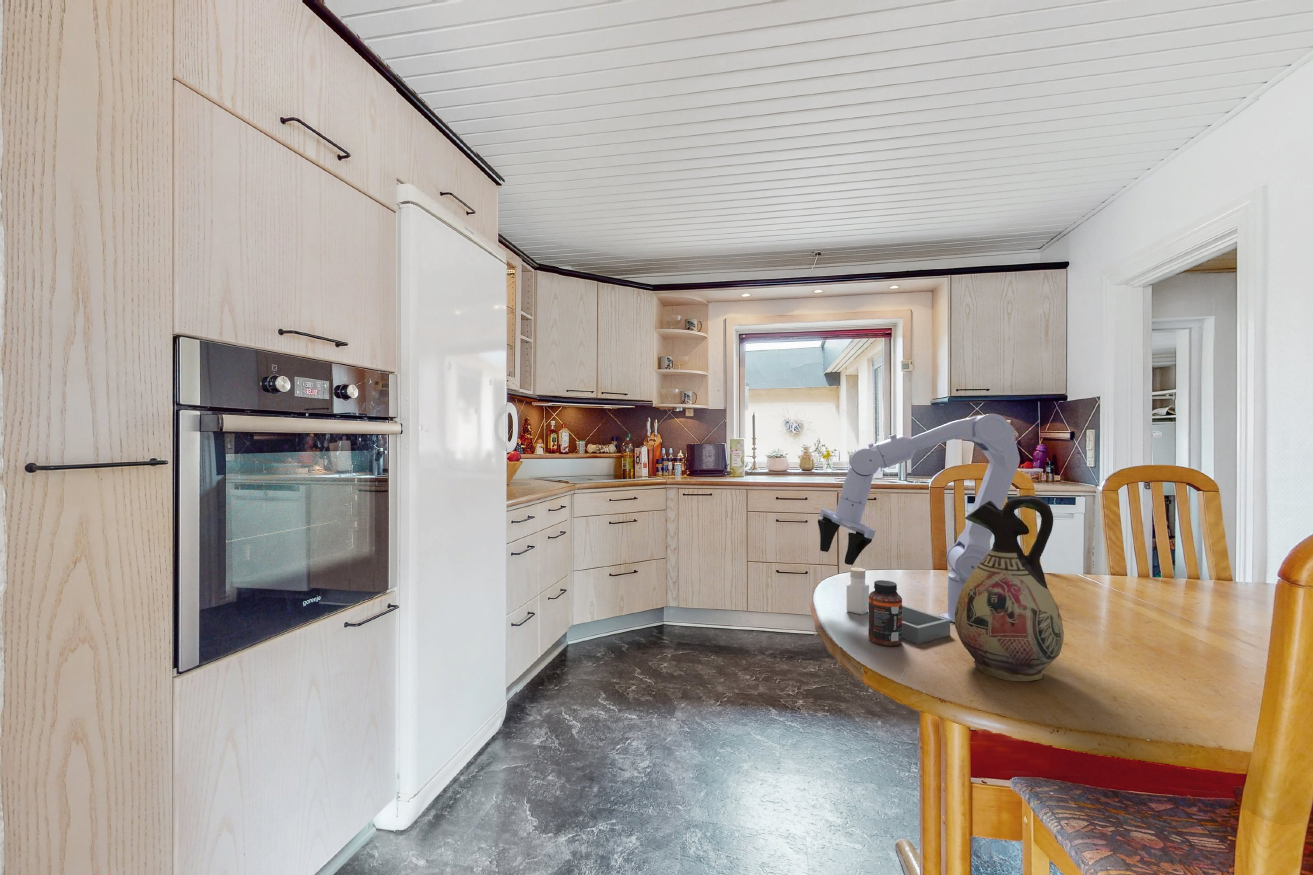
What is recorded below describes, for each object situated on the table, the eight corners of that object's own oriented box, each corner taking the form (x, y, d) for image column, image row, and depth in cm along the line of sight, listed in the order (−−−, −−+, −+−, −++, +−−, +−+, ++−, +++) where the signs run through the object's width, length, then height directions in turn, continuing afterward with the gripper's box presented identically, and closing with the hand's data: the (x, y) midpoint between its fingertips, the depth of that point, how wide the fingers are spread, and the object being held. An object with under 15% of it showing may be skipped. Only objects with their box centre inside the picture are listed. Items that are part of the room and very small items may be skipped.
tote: (903, 619, 118) (903, 605, 118) (950, 635, 109) (950, 620, 109) (872, 626, 114) (872, 611, 114) (918, 643, 104) (918, 628, 104)
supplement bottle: (905, 648, 102) (905, 587, 102) (871, 645, 103) (871, 585, 103) (898, 636, 108) (898, 579, 108) (865, 634, 109) (866, 577, 109)
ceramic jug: (944, 673, 92) (945, 493, 91) (964, 646, 103) (965, 486, 103) (1072, 706, 81) (1074, 502, 80) (1078, 671, 93) (1080, 493, 92)
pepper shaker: (851, 607, 126) (852, 566, 126) (869, 611, 124) (870, 568, 124) (845, 611, 123) (845, 569, 123) (863, 615, 121) (863, 572, 120)
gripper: (817, 489, 129) (801, 544, 130) (866, 508, 116) (847, 569, 117) (838, 493, 132) (822, 546, 133) (888, 512, 119) (870, 571, 121)
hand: (835, 557), depth 125 cm, fingers open, 7 cm apart
